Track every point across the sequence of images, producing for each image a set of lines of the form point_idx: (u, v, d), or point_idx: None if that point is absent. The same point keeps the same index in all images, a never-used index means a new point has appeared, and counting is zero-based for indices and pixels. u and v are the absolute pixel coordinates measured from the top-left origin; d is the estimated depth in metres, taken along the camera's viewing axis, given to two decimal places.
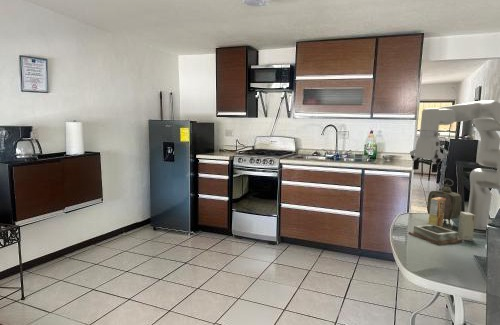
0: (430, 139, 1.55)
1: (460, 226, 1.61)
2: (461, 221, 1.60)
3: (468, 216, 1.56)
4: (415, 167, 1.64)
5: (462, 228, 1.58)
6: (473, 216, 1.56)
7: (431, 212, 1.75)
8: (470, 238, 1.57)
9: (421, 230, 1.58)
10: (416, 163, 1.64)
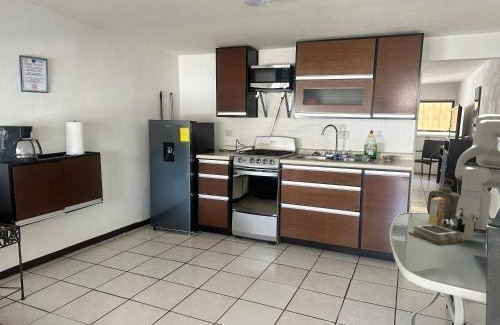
0: (478, 199, 1.57)
1: None
2: None
3: None
4: None
5: None
6: (473, 216, 1.56)
7: (431, 212, 1.75)
8: (470, 238, 1.57)
9: (421, 230, 1.58)
10: None
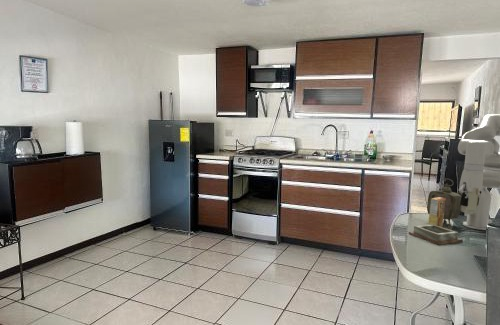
0: (481, 172, 1.56)
1: None
2: None
3: None
4: None
5: None
6: (477, 190, 1.55)
7: (431, 212, 1.75)
8: (474, 212, 1.56)
9: (421, 230, 1.58)
10: None
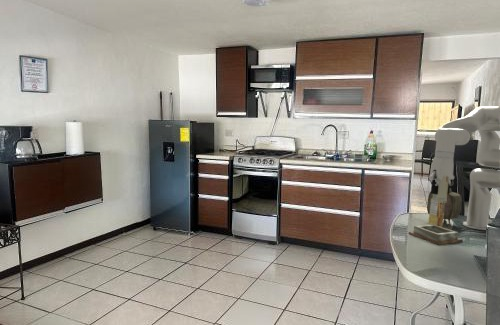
0: (452, 160, 1.54)
1: None
2: None
3: None
4: None
5: None
6: (447, 177, 1.53)
7: (431, 212, 1.75)
8: (444, 200, 1.54)
9: (421, 230, 1.58)
10: None
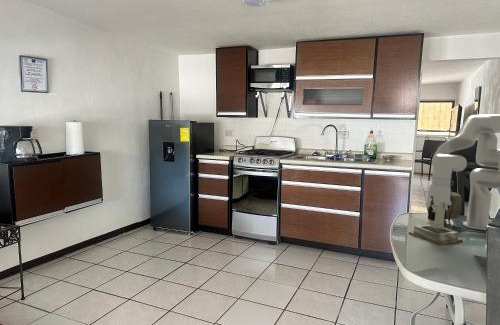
0: (449, 187, 1.56)
1: None
2: None
3: None
4: None
5: None
6: (444, 204, 1.54)
7: None
8: (441, 226, 1.55)
9: (421, 230, 1.58)
10: None
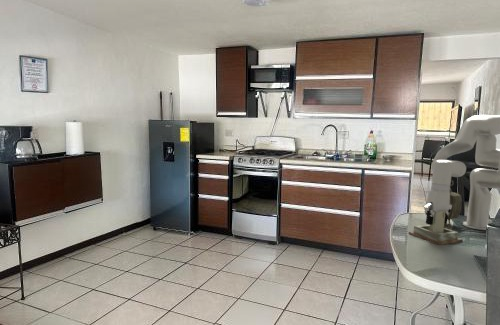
0: (448, 192, 1.56)
1: None
2: None
3: (438, 213, 1.55)
4: None
5: (433, 225, 1.57)
6: (443, 213, 1.55)
7: None
8: None
9: (421, 230, 1.58)
10: None
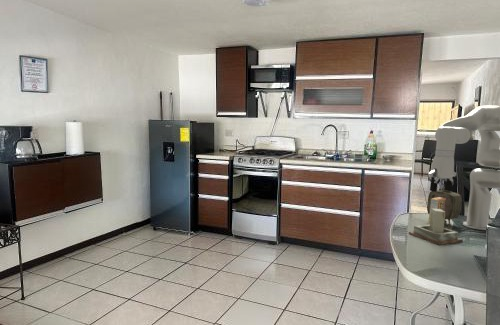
0: (452, 159, 1.54)
1: (431, 223, 1.60)
2: (432, 218, 1.59)
3: (438, 213, 1.55)
4: None
5: (433, 225, 1.57)
6: (443, 213, 1.55)
7: None
8: None
9: (421, 230, 1.58)
10: None
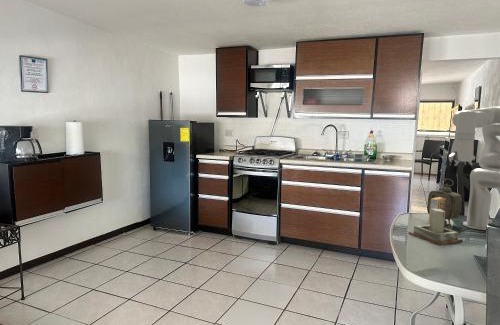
0: (472, 142, 1.57)
1: (431, 223, 1.60)
2: (432, 218, 1.59)
3: (438, 213, 1.55)
4: None
5: (433, 225, 1.57)
6: (443, 213, 1.55)
7: None
8: None
9: (421, 230, 1.58)
10: None
